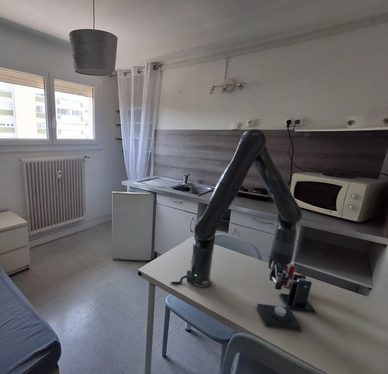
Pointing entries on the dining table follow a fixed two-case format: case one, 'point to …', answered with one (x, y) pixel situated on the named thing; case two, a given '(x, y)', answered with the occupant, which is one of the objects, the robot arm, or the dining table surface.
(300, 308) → the bracket
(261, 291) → the dining table surface
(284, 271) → the robot arm
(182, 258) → the dining table surface
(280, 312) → the flush button
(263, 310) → the flush panel
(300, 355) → the dining table surface
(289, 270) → the soda can
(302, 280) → the flush lever
